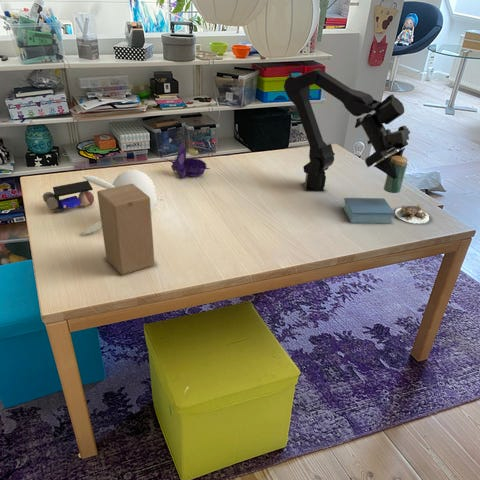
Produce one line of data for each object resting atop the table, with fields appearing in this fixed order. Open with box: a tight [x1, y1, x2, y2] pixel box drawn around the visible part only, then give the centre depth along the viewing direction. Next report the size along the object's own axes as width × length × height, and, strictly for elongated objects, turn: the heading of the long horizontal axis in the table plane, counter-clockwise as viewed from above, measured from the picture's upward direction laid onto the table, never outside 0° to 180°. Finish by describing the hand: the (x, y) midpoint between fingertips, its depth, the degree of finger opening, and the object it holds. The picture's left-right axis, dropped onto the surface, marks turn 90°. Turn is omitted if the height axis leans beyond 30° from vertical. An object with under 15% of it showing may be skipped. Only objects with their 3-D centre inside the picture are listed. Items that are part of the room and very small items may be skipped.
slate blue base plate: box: [343, 197, 395, 224], centre depth 165 cm, size 14×11×4 cm
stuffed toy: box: [81, 169, 163, 236], centre depth 148 cm, size 19×14×25 cm
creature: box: [163, 139, 211, 179], centre depth 183 cm, size 9×18×12 cm, turn 108°
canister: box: [383, 155, 409, 194], centre depth 160 cm, size 5×5×10 cm
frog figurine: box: [394, 204, 430, 225], centre depth 166 cm, size 12×12×4 cm
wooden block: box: [97, 184, 156, 276], centre depth 130 cm, size 10×10×20 cm
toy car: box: [42, 180, 95, 213], centre depth 159 cm, size 7×8×15 cm
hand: (399, 176), depth 160 cm, fingers closed on canister, 5 cm apart
